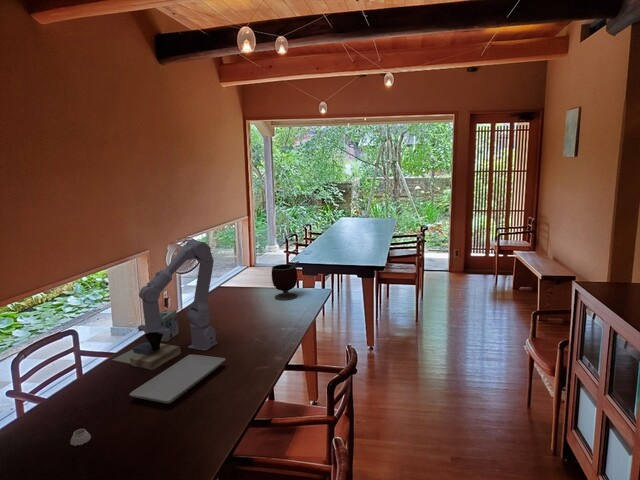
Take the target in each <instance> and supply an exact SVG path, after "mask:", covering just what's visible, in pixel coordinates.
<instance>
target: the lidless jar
mask: <svg viewBox="0 0 640 480" xmlns="http://www.w3.org/2000/svg"><path fill="white" fill-rule="evenodd" d="M91 438H92V435H91V434H90V433H89V432H88V431H87V430H86V429H85V428H79V429H77V430H74V432H73V435H72V437H71V438H70V445H71V446H73V445H74V446H73V447H76V446H77V445H79V446H82V445H84V443H85V444H86V443H88V442H90V440H91Z"/></svg>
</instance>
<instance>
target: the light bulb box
mask: <svg viewBox="0 0 640 480" xmlns="http://www.w3.org/2000/svg"><path fill="white" fill-rule="evenodd" d="M177 313H178V312H177V310H176V309H175V310H174V309H173V310H172V309H163V310H161V311H160V319H161V326H163V327H165V328H168V329H170V334H168V335H165V334H163V336H162V339H161V342H168V341H170V340H171V339H173V338H174V337H176V336H177V335H179V333H180V331H179V321H178V314H177Z"/></svg>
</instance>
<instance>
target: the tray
mask: <svg viewBox="0 0 640 480" xmlns="http://www.w3.org/2000/svg"><path fill="white" fill-rule="evenodd" d="M225 361H226V358H225V357H218V356H217V357H216V356H209V355H201V354H200V355H199V354H187V356H185V357H184V358H181V359H180V360H179V361H177V362H176V363H174V364H173V365H171V366H170V367H167V368H166V369H165V370H164V371H162V372H161V373H158V374H157V375H156V376H154V377H153V378H151V379H150V380H148V381H146V382H144V383H142V385H139V387H137V388H136V389H134V390H132V391H131V392H130V393H129V397H132V398H136V399H141V400H146V401H151V402H155V403H157V402H158V403H162V404H172V403H173V402H175V401H177V399H178V398H180V397H181V396H182V395H184V394H185V393H186V392H188V391H189V390H190V389H192V388H193V387H194V386H196V385H198V384H199V383H200V382H201V381H202V380H204V379H205V378H206V377H208V376H209V375H210V374H211V373H213V372H214V371H215V370H216V369H217V368H219V367H221V365H222V364H223V363H224V362H225Z"/></svg>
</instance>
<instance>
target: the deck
mask: <svg viewBox="0 0 640 480" xmlns="http://www.w3.org/2000/svg"><path fill="white" fill-rule="evenodd" d="M181 354H182V353H181V346H177V345H173V344H172V345H171V344H166V343H161V342H160V350H158V351H156V352H154V353H153V354H151V355H143V354H137V355H136V356H134V357H132V358H130V362H131V364H130V366H131V367H136V368H142V369H145V370H151V371H153V370H155V369H156V368H159V367H161V366H162V365H163V364H165V363H167V362H169V361H171V360H172V359H174V358H176V357H178V356H179V355H181Z"/></svg>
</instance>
